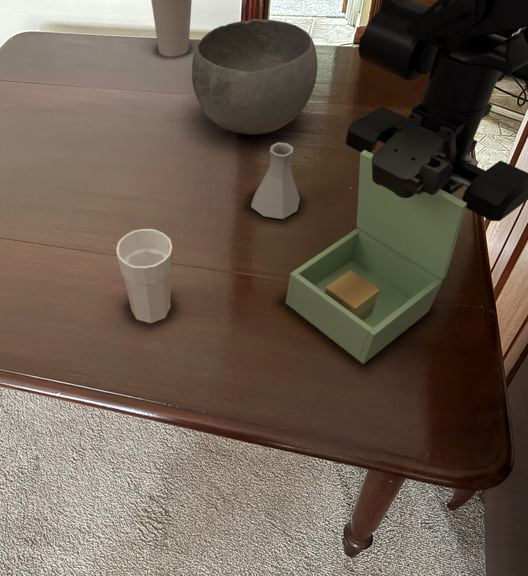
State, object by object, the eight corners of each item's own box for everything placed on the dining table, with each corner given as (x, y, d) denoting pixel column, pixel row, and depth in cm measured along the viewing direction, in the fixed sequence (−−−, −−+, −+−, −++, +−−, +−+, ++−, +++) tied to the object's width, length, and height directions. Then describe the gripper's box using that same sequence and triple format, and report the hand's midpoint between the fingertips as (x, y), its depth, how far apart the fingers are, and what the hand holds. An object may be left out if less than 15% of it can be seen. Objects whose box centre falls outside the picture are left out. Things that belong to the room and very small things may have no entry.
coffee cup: (204, 46, 123) (204, -28, 112) (176, 64, 118) (173, -12, 107) (170, 36, 127) (167, -37, 116) (142, 52, 123) (136, -21, 112)
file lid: (463, 207, 55) (467, 203, 55) (360, 153, 62) (364, 149, 63) (442, 280, 66) (446, 276, 66) (356, 226, 73) (360, 223, 73)
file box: (363, 364, 66) (374, 335, 62) (285, 303, 73) (290, 273, 69) (428, 311, 71) (443, 280, 66) (349, 258, 78) (357, 227, 74)
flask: (285, 226, 83) (293, 170, 76) (242, 209, 86) (245, 154, 79) (307, 199, 87) (317, 143, 79) (265, 183, 90) (271, 129, 82)
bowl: (289, 86, 109) (299, 6, 98) (324, 146, 95) (340, 60, 84) (184, 101, 109) (182, 21, 97) (204, 163, 95) (204, 78, 84)
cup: (115, 309, 75) (104, 249, 67) (150, 281, 78) (144, 221, 70) (150, 335, 72) (143, 277, 63) (186, 306, 74) (184, 245, 66)
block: (372, 313, 70) (380, 290, 67) (348, 331, 69) (355, 308, 65) (343, 293, 73) (350, 269, 70) (320, 310, 71) (325, 287, 68)
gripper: (323, 92, 57) (303, 210, 69) (499, 175, 46) (440, 299, 58) (394, 54, 61) (364, 172, 73) (572, 123, 50) (503, 249, 62)
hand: (412, 219), depth 66 cm, fingers closed
